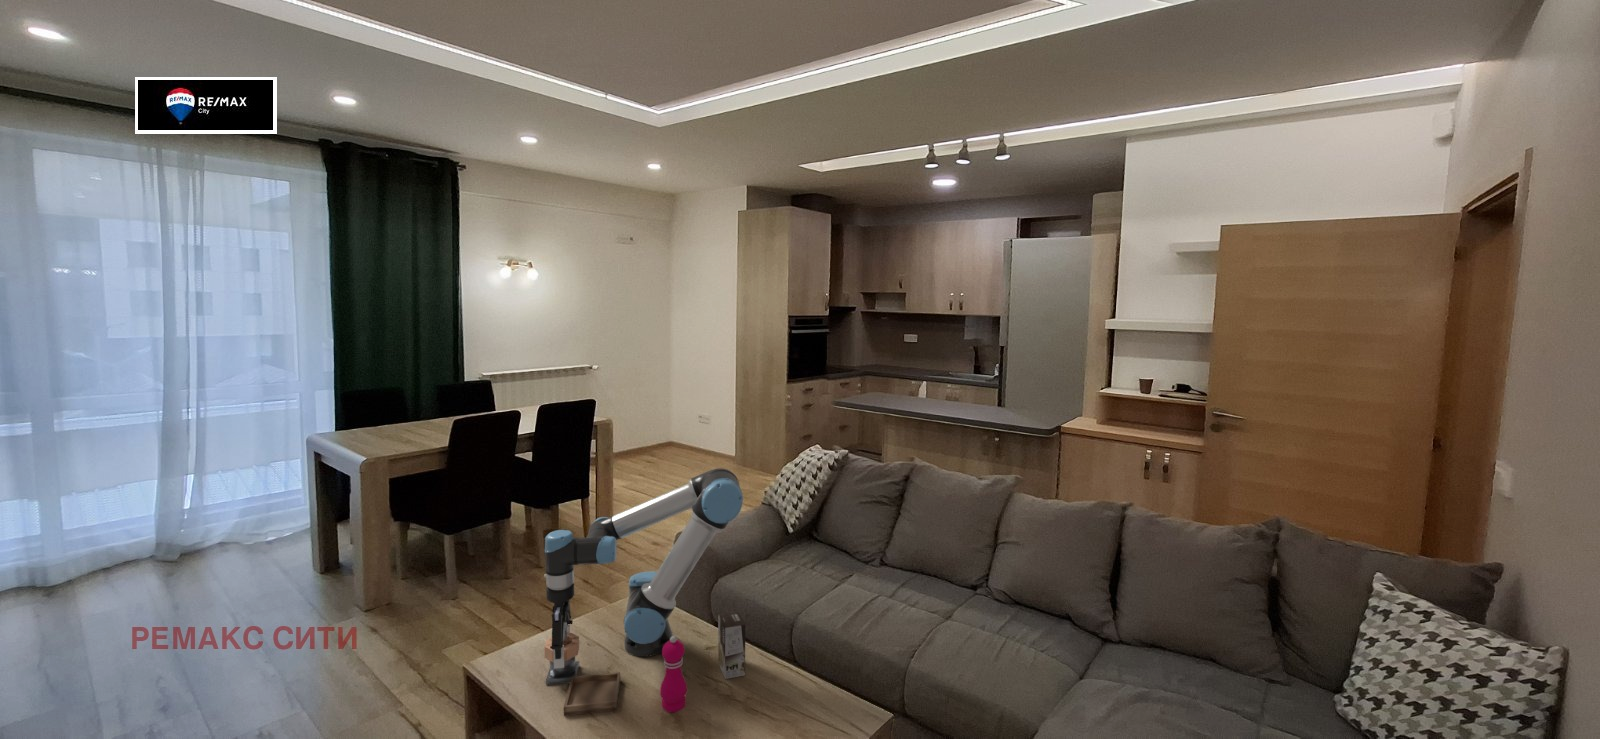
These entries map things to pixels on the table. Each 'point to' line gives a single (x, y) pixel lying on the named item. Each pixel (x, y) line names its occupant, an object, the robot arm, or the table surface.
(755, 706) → the table surface
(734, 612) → the coffee box
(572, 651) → the ring
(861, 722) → the table surface
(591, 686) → the tray
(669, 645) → the pepper mill
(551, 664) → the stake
